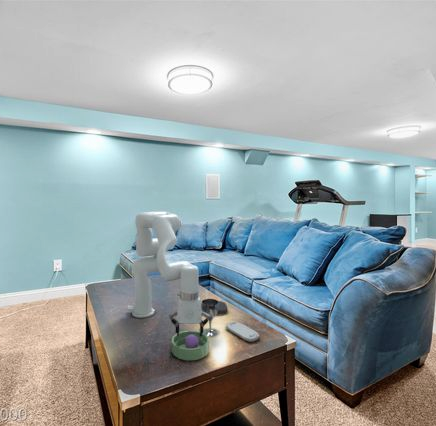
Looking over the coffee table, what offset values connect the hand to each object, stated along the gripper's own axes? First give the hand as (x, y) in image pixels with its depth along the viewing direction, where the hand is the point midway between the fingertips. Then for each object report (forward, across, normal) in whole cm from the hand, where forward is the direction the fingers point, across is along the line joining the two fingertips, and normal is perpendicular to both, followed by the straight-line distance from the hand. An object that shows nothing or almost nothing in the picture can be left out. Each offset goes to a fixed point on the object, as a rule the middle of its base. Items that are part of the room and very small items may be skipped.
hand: (189, 334), depth 114 cm
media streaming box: (+8, +12, +42) cm, 45 cm away
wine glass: (+7, +9, +15) cm, 19 cm away
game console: (+7, +24, +14) cm, 29 cm away
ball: (+6, 0, -1) cm, 6 cm away
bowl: (+7, 0, -1) cm, 7 cm away
